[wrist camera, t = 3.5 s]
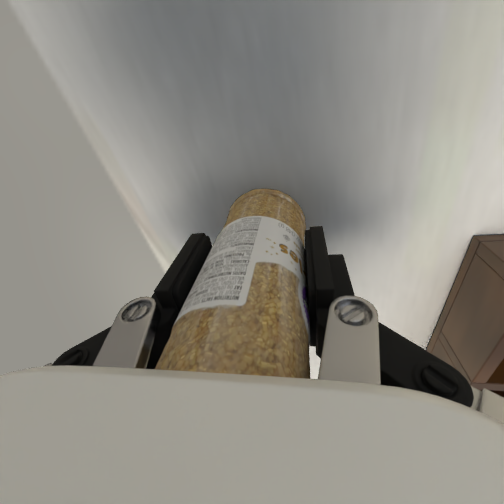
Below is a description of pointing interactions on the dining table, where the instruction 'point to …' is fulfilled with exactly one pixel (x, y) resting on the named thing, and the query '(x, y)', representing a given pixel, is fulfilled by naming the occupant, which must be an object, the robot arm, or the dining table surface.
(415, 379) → the robot arm
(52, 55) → the dining table surface
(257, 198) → the sprinkles bottle
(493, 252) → the tray
